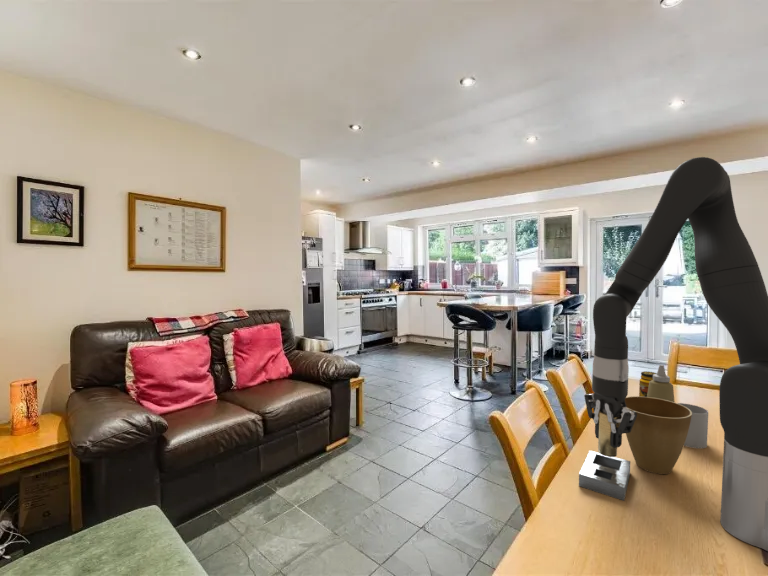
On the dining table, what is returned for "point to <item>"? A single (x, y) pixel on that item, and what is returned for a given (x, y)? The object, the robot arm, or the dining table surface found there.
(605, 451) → the spice shaker
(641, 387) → the condiment
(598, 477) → the steel socket block
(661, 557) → the dining table surface
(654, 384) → the squeeze bottle
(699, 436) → the cup
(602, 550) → the dining table surface
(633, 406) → the plant pot
